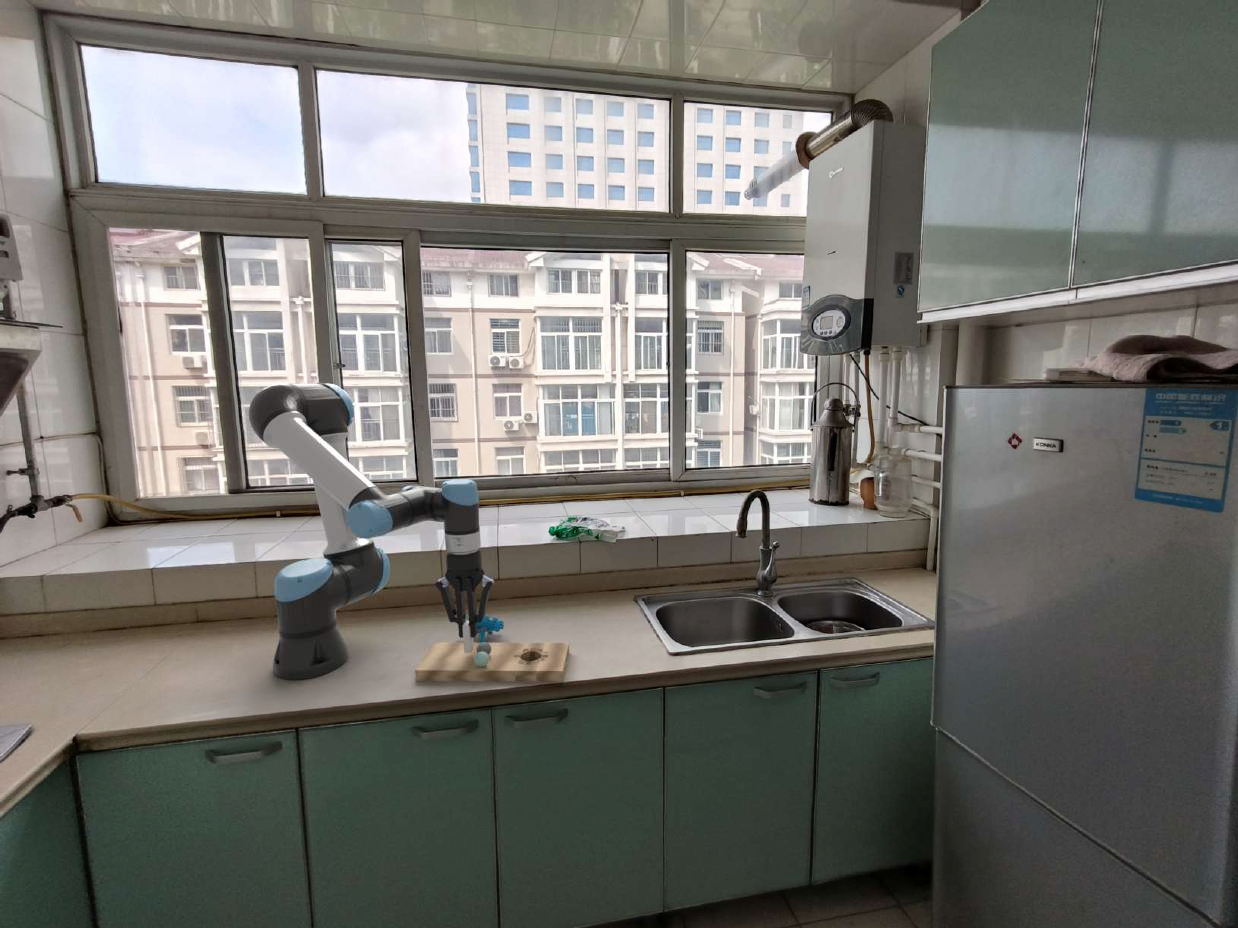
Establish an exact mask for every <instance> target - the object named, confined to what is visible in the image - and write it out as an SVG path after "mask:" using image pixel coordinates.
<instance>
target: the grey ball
mask: <svg viewBox="0 0 1238 928" xmlns="http://www.w3.org/2000/svg"><path fill="white" fill-rule="evenodd" d="M479 643H480V642H479ZM489 643H490V642H488V641H487V642H486V641H484V642H482V643H480V644H479V645H478V647H477V653H478V652H481V651H483V652H486V653H487V654H488V655H489V654H490V652H491V646H490V644H489Z"/></svg>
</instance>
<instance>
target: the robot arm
mask: <svg viewBox="0 0 1238 928" xmlns="http://www.w3.org/2000/svg"><path fill="white" fill-rule="evenodd" d="M354 417H355V407H354V405H353V401H352V399H351V397H350V395H349V393H347V392H346V391H345V390H344V389H343V388H341V387H340V386H338V385H336V384H333V383H323V382H311V383H310V382H308V383H307V382H306V383H277V384H276V383H275V384H272V385H269V386H266V387H264V388H262V389H261V390H259V391H258V392H257V393H256V394H255V396H254V397H253V398H252V400H251V402H250V405H249V407H248V418H249V419H248V420H249V423H250V426H251V428H252V430H253V432H254V433H255V434H256V435H257V437H258V438H259V439H260V440H261V441H262V442H263V443H264V444H265V445H266V446H267V447H269V448H272V449H277V450H279V451H280V452H281V453H283V454H284V455H285V456H286V457H287V458H288V459H289V460H291V461H292V462H293V463H294V464H295V465H296V466H297V467H298V468H299V469H301V471H303V472H304V473H305V475H307V476H308V477H309V478H310V479H311V480H312V483H313V488H314V491H315V495H316V499H317V504H318V507H319V508H318V509H319V512H320V516H321V520H322V521H321V522H322V525H323V529H324V534H325V537H326V541H327V546H326V547H325V548H324V549H323V550H324V551H323V552H322V556H323V557H312V558H307V559H302V560H299V561H296V562H293V563H290V564H288V565H287V566H285V567H283V568H282V569H280V570H279V571H278V573H277V574H276V575H275V579H274V592H273V596H274V598H275V607H276V615H277V625H278V633H279V634H278V636H279V638H278V641H277V642H278V643H277V645H276V649H275V654H274V658H273V661H272V666H273V674H274V675H275V676H276V677H278V678H280V679H284V680H294V681H295V680H303V679H304V680H305V679H310V678H314V677H315V678H316V677H318V676H322V675H324V674H327V673H330V672H333V671H334V670H336V669H337V668H339V667H341V666H342V665H343V664H345V662H346V661H347V660H348V658H349V657H348V656H349V653H348V646H347V643H346V641H345V640H344V637H343V635H342V633H341V631H340V629H339V627H338V623H337V611H338V610H339V609H341V608H345V607H346V606H349V605H351V604H354V603H356V602H358V601H360V600H363V599H364V598H369V597H371V596H373V595H374V594H377V593H378V592H379V591H381V590H382V589H383V588H384V587H385V586H386V584H387V583H388V581H389V579H390V574H391V564H390V560H389V557H388V555H387V553H385V552H384V550H383V549H382V548H380V546H376V545H375V542H374V541H375V540H374V539H372V538H376V537H377V538H378V537H382V536H385V535H387V534H389V533H391V532H395V531H398V530H401V529H404V528H409V527H410V526H414V525H417V524H420V523H423V522H437V523H438V522H439V523H443V529H444V530H443V531H444V543H445V544H444V546H445V550H446V553H445V560H446V561H445V563H446V572H445V575H444V577H440V578H439V579H438V580H437V581H436V582H435V587H436V588H437V590H438V591H439V592H440V595H441V598H442V601H443V604H444V608H445V611H446V614H447V618H448V620H449V622H450V623H456V624H457V626H458V636H459V638H460V639H461V638H462V639H463V640H462V643H464V653H471V652H472V650H473V648H474V643H475V641H474V640H475V639H474V638H476V636H477V635H478V634H477V622H481V621H482V620H483V619H484V617H485V616H486V614H487V613H486V612H487V607H488V602H489V597H490V593H491V588H492V586H493V585H494V584H495V581H496V580H495V578H493V577H491V578H490V577H489V576H487V575H485V571H484V570H483V565H482V550H481V549H480V548H481V546H482V543H481V542H482V541H481V529H480V528H481V527H480V497H479V493H478V492H479V491H478V485H477V482H476V481H474V480H473V479H470V478H456V479H454V478H453V479H449V480H445V481H444V482H442V485H441V487H435V486H434V487H433V486H425V485H419V484H417V485H406V486H404V487H403V488H402V489H401V490H400V491H398V492H396V493H392V494H386V493H385V492H384V491H382V489H380V488H379V487H378V486H376V484H374V483H373V481H371V480H370V479H369V478H368V477H366V475H364V474H363V472H361V471H360V470H359V469H357V468H356V466H354V465H353V464H352V463H351V462H350V461H349V459H348V455H347V451H346V446H345V441H346V439H347V437H348V436H349V434H350V433H349V429H348V428H349V427H350V426H351V424H353V421H354V419H353V418H354ZM481 582H482V583H481ZM480 583H481V584H482V585H481V586H482V587H483V589H482V590H481V591H482V592H481V597H480V601H479V605H478V606H479V607H477V587H478V586H479V585H480ZM449 585H450V586H451V587H452V588H453V589H454V595H455V601H454V599H453V595H452V592H451V589H450V586H449ZM465 592H466V594H465ZM465 595H466V596H465ZM465 597H467V611H468V616H466V598H465ZM455 602H456V604H455ZM455 605H456V606H455ZM477 609H478V611H477ZM467 618H469V621H465V620H467Z"/></svg>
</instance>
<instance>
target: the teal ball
mask: <svg viewBox="0 0 1238 928" xmlns="http://www.w3.org/2000/svg"><path fill="white" fill-rule="evenodd" d="M488 661H489V656H488V654H487V653H486V652H483V651H481V652H478V653H477V654H476V655H475V657H474V662H475V664H476V665H477V666H479V667H483V666H485V665H487V663H488Z"/></svg>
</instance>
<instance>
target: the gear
mask: <svg viewBox="0 0 1238 928" xmlns="http://www.w3.org/2000/svg"><path fill="white" fill-rule="evenodd" d="M465 621H469V617H467V618H466V619H465ZM503 629H504V621H502V620H499V618H497V617H493V618H492V620H491V619H490V615H489V616H488V615H485V617H484V618H483V620H482V621H481V622H477V635H478V634H479V643H482V642H485V634H486V633H488V634H493V632H496V633H499V632H500V631H501V630H503Z"/></svg>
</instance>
